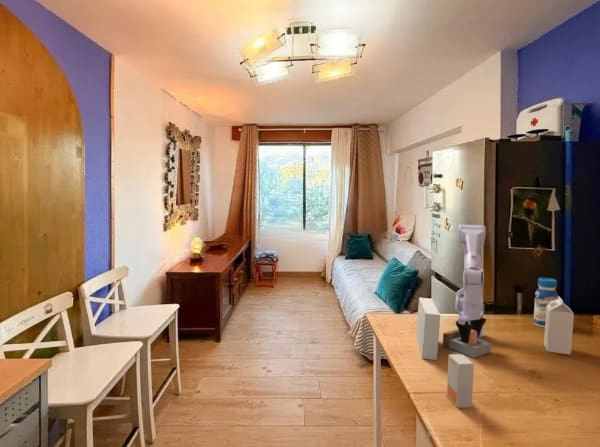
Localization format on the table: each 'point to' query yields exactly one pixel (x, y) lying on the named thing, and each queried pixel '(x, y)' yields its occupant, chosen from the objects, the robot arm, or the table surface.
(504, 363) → the table surface
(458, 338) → the socket block
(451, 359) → the skincare box
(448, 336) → the walnut wall
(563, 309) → the milk carton
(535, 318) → the beverage bottle
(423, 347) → the skincare box
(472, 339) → the peach egg shape
